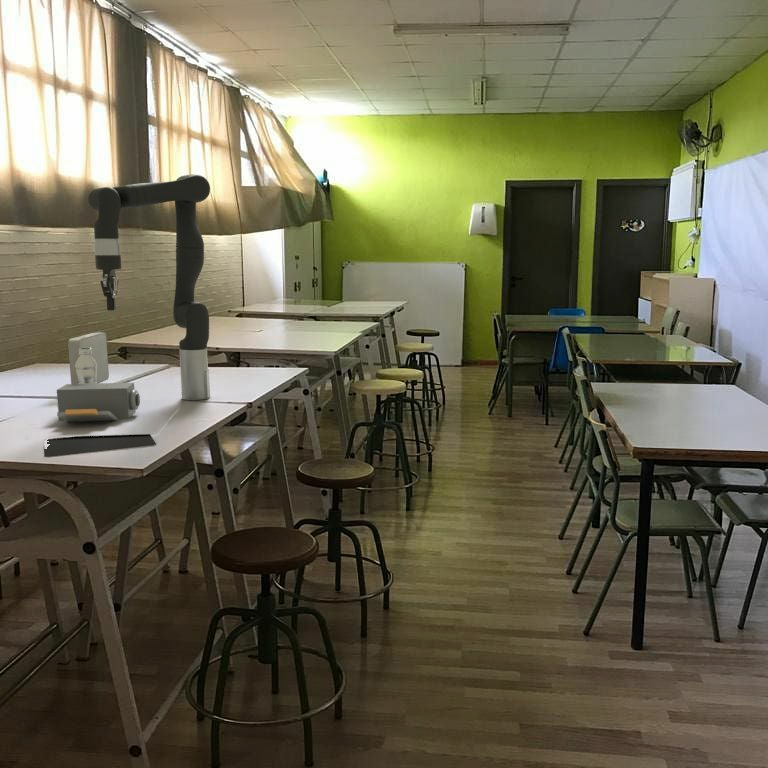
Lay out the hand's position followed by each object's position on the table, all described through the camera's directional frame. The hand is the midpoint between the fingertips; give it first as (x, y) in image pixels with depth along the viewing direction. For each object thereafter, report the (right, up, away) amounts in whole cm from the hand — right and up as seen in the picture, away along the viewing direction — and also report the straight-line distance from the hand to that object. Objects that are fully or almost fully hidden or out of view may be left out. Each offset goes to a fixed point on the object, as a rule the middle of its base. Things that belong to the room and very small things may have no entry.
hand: (111, 310), depth 236 cm
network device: (-23, -25, +43) cm, 55 cm away
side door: (-1, -34, -13) cm, 36 cm away
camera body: (0, -34, -6) cm, 34 cm away
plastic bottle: (-9, -32, +5) cm, 33 cm away
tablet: (+10, -39, -36) cm, 54 cm away
